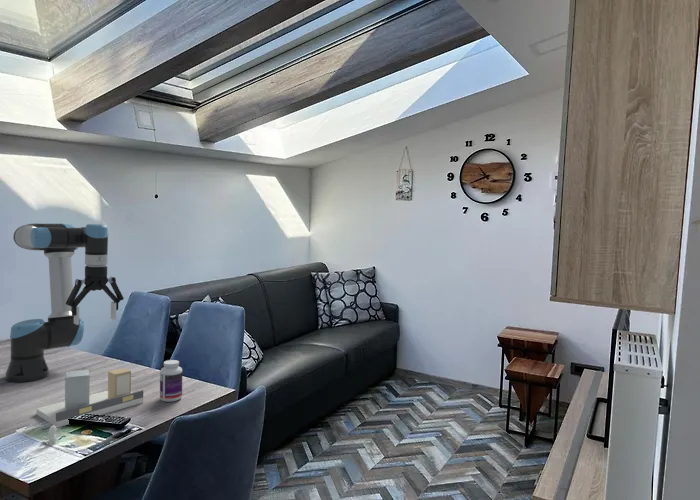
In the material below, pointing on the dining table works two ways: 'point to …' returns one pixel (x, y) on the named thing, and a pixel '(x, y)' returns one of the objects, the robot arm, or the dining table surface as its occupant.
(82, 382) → the supplement box
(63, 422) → the shelf
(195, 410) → the dining table surface
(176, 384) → the pill bottle
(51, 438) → the figurine
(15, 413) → the dining table surface
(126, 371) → the carton
